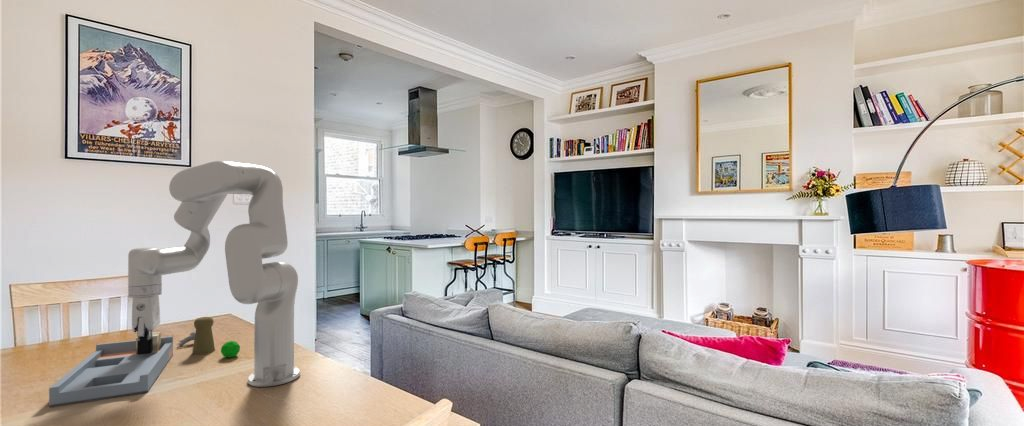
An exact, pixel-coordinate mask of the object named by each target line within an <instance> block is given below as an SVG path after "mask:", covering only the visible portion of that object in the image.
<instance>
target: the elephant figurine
mask: <svg viewBox="0 0 1024 426" xmlns="http://www.w3.org/2000/svg"><path fill="white" fill-rule="evenodd" d="M194 328H195V327H194ZM195 333H196V328H195V330H194V331H192V332H191V333H190V334H189V335H188V336H187V337H185V338H183V339H180V340H178V343H177V345H178V347H183V346H184V345H185V344H187V343H189V342H191V341H194V339H195Z"/></svg>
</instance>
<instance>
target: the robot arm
mask: <svg viewBox="0 0 1024 426" xmlns="http://www.w3.org/2000/svg"><path fill="white" fill-rule="evenodd" d="M168 187H169V188H168V191H169V193H170V195H171V197H172V198H173V199H174V200H176V201H178V202H180V204H179V205H178V207H177V208H176V211H175V212H174V214H173V218H174V221H175V222H176V224H177V225H179V226H180V227H181V228H183V229H185V230H187V231H190V235H189V237H188V239H187V240H186V242H185V243H184V245H183V246H175V247H174V246H173V247H164V248H157V247H137V248H132V249H131V250H129V252H128V255H127V260H128V264H127V266H128V268H127V269H128V270H127V275H128V276H127V279H128V280H127V283H128V284H127V286H128V287H127V288H128V289H127V293H128V294H127V297H128V298H131V299H132V304H131V306H132V307H131V309H132V310H131V330H132V332H133V333H137V336H136V337H138V341H137V354H138V355H141V354H150V353H151V352H152V351H153V338H152V334H153V331H154V330H155V329H157V328H158V327H159V325H160V323H161V312H160V311H161V310H160V307H161V306H160V295H162V294H163V292H162V289H163V287H162V285H163V283H162V280H163V277H162V276H166V275H171V274H176V273H177V274H178V273H182V272H183V273H184V272H191V271H192V270H193V269H196V267H198V266H199V265H200V264H201V262H202V261H203V259H204V258H205V257H206V255H207V253H208V251H209V248H210V246H211V234H210V233H211V232H210V230H209V225H210V224H211V222H212V220H213V219H214V216H215V215H216V213H217V212H218V210H219V209H220V208H221V206H222V204H223V202H224V201H225V199H226V197H227V196H228V195H249V196H250V195H251V196H252V197H251V198H250V201H249V204H248V210H247V211H248V212H247V213H248V219H249V220H248V223H242V224H239V225H237V226H234V227H233V228H231V229H230V231H229V232H228V234H227V236H226V239H225V242H224V253H225V260H226V268H227V269H226V271H227V277H228V286H229V290H230V293H231V295H232V297H233V298H234V300H235V301H237V302H238V303H240V304H242V305H253V304H256V308H255V312H254V327H253V329H254V334H253V335H254V339H253V340H254V343H253V345H254V346H253V347H254V349H253V350H254V354H253V355H254V357H253V358H254V360H253V363H254V367H253V368H254V369H253V371H254V372H252V373H251V374H249V376H248V377H247V383H248V385H250V386H252V387H259V388H260V387H267V388H268V387H273V386H274V387H275V386H279V385H283V384H287V383H290V382H293V381H294V380H296V379H297V378H299V377H300V375H301V370H300V368H299V367H296V366H295V302H296V301H295V300H296V295H297V292H298V291H297V290H298V284H299V275H298V272H297V270H296V268H295V267H294V266H293V265H291V264H290V263H287V262H284V261H272V262H266V263H263V260H264V259H265V260H266V259H270V258H275V257H279V256H281V255H282V254H284V253H285V252H286V250H288V249H287V248H288V233H287V232H288V231H287V224H286V218H285V211H284V210H285V209H284V195H283V194H284V190H283V189H284V187H283V183H282V180H281V178H280V176H279V174H277V172H275V171H274V170H272V169H271V168H268V167H266V166H263V165H258V164H252V163H243V162H235V161H226V160H215V161H209V162H206V163H203V164H200V165H196V166H192V167H189V168H184V169H183V170H180V171H178V172H177V173H175V175H174V176H173V177H172V178H171V180H170V182H169V185H168Z"/></svg>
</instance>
